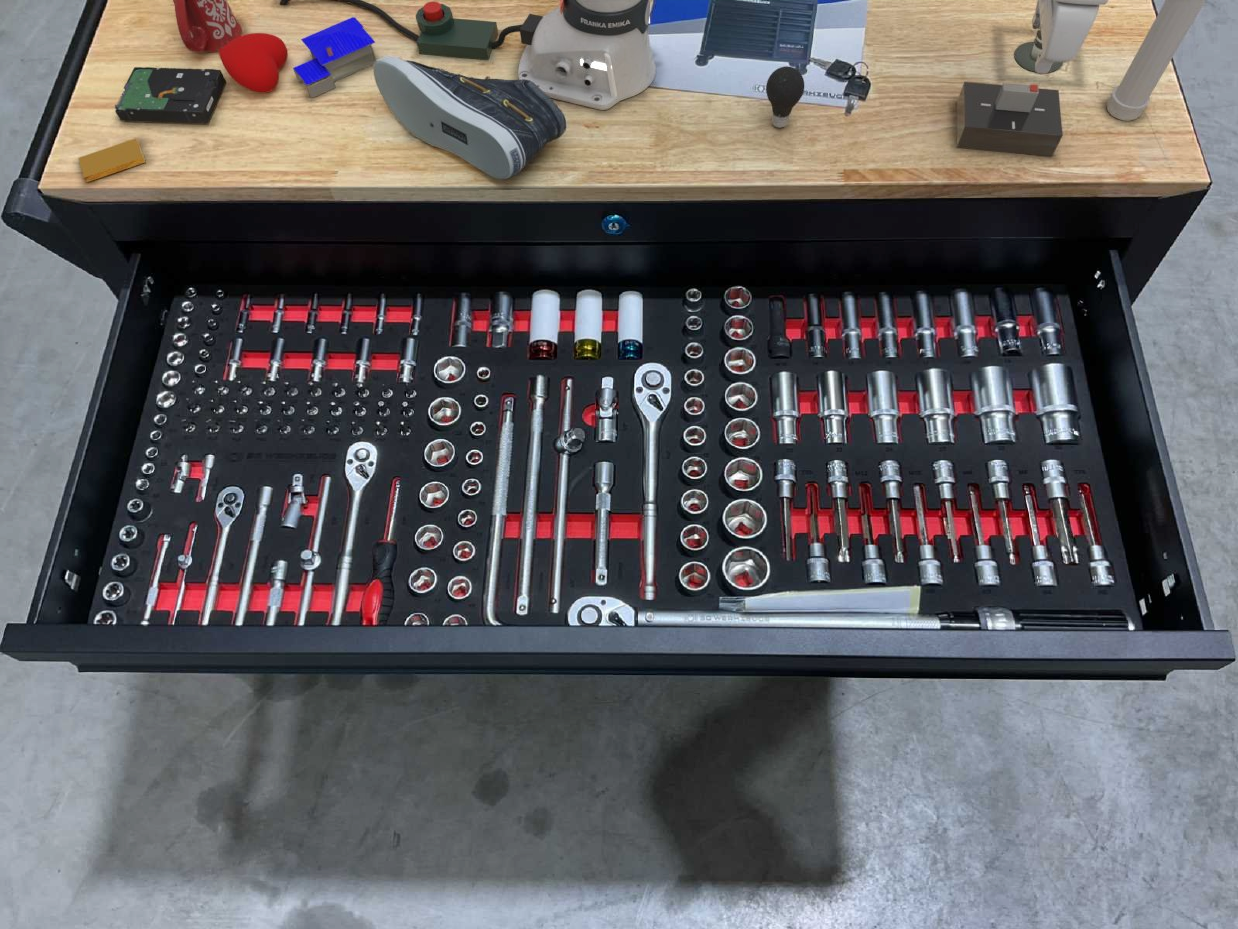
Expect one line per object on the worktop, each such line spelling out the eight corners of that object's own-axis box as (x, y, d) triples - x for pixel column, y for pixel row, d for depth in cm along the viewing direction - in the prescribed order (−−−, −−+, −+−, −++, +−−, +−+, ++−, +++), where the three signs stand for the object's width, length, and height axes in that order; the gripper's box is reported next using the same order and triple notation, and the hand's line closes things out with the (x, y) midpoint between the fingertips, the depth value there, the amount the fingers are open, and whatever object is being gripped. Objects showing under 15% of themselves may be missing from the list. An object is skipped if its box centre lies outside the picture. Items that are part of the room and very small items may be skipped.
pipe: (1140, 125, 137) (1257, -71, 111) (1098, 116, 138) (1204, -80, 112) (1143, 102, 139) (1259, -96, 113) (1101, 93, 141) (1206, -105, 114)
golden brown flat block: (82, 163, 140) (88, 183, 137) (78, 157, 139) (84, 177, 136) (139, 143, 141) (146, 162, 139) (135, 138, 140) (142, 157, 138)
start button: (423, 21, 148) (420, 11, 147) (428, 10, 150) (425, 0, 148) (440, 22, 148) (438, 13, 147) (445, 11, 149) (443, 1, 148)
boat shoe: (370, 106, 142) (433, 70, 149) (510, 207, 135) (570, 165, 142) (362, 41, 133) (430, 6, 139) (512, 147, 126) (576, 105, 132)
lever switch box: (956, 147, 136) (965, 125, 132) (956, 103, 141) (964, 80, 137) (1051, 156, 134) (1063, 134, 131) (1048, 111, 139) (1059, 88, 135)
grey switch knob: (995, 109, 134) (1004, 88, 131) (995, 102, 135) (1003, 81, 131) (1029, 112, 133) (1039, 91, 130) (1029, 105, 134) (1039, 84, 131)
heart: (226, 14, 145) (289, 30, 147) (231, 42, 150) (292, 57, 152) (205, 61, 140) (271, 77, 141) (210, 89, 144) (274, 104, 146)
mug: (217, -58, 144) (249, 20, 156) (163, -60, 145) (198, 17, 156) (192, -10, 138) (227, 67, 150) (135, -12, 138) (174, 65, 150)
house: (282, 61, 150) (270, 31, 145) (358, 29, 154) (349, -2, 149) (311, 98, 145) (300, 68, 140) (389, 63, 149) (380, 33, 144)
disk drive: (228, 82, 148) (141, 79, 149) (221, 68, 146) (132, 65, 146) (210, 126, 143) (120, 123, 144) (203, 111, 141) (111, 108, 141)
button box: (413, 53, 150) (408, 31, 147) (426, 23, 154) (421, 1, 150) (488, 60, 149) (484, 38, 145) (499, 29, 152) (496, 8, 149)
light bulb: (795, 140, 138) (805, 85, 129) (758, 136, 138) (766, 80, 129) (799, 115, 140) (809, 59, 131) (763, 111, 141) (771, 55, 132)
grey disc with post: (1078, 84, 142) (1092, 56, 137) (1000, 77, 143) (1011, 50, 139) (1073, 35, 147) (1086, 8, 143) (998, 29, 149) (1009, 1, 144)
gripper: (1050, -99, 118) (1013, -1, 130) (1059, -3, 109) (1018, 93, 121) (1099, -96, 117) (1058, 2, 130) (1113, 1, 108) (1067, 97, 120)
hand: (1039, 47), depth 125 cm, fingers open, 8 cm apart
